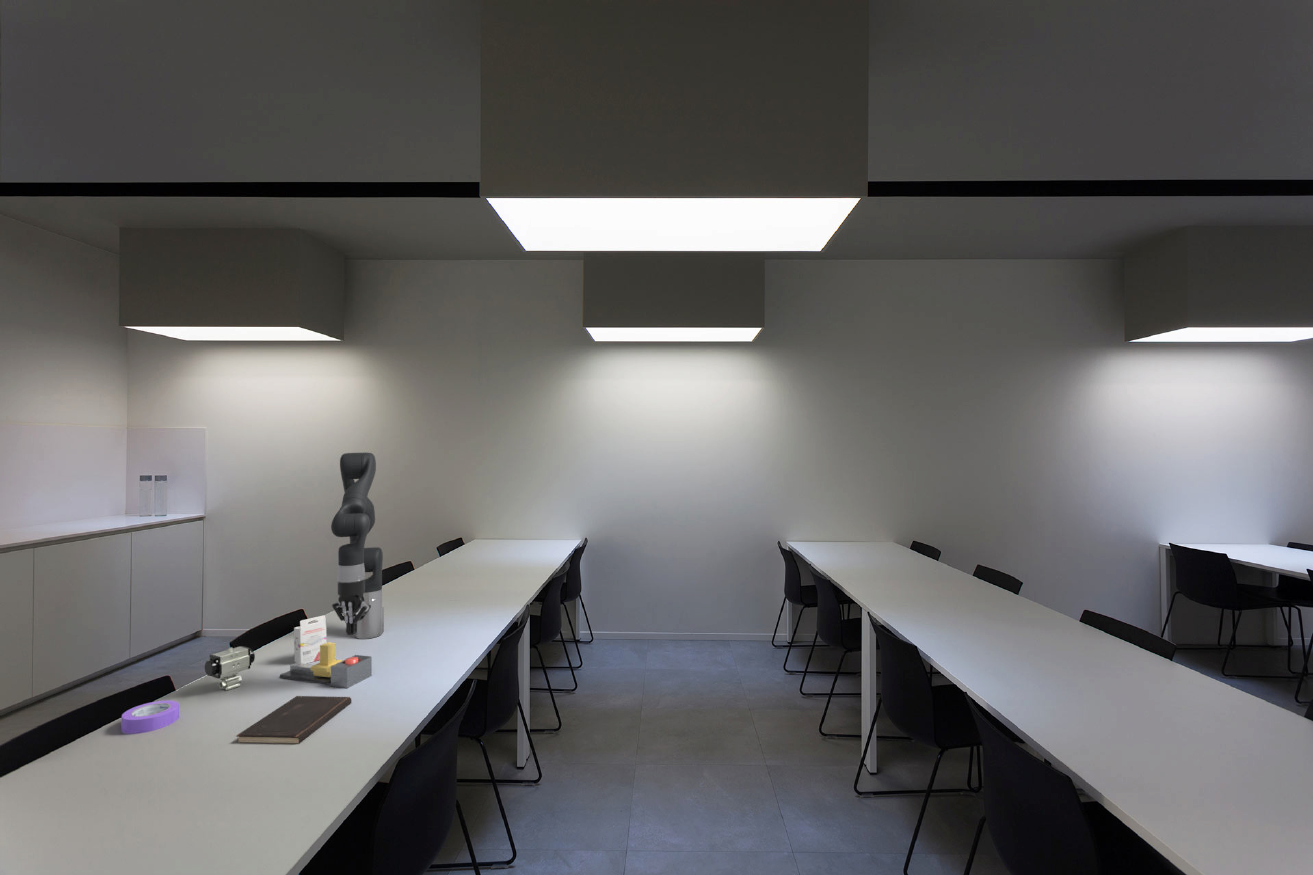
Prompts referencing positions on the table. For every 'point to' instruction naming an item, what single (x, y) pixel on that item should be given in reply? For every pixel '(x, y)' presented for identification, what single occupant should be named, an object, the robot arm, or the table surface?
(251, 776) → the table surface
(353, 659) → the button
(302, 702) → the hardcover book
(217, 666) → the pneumatic valve
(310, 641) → the ink cartridge box
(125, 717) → the masking tape
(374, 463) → the robot arm
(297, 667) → the rail
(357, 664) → the grey button housing
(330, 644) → the yellow flanged block
